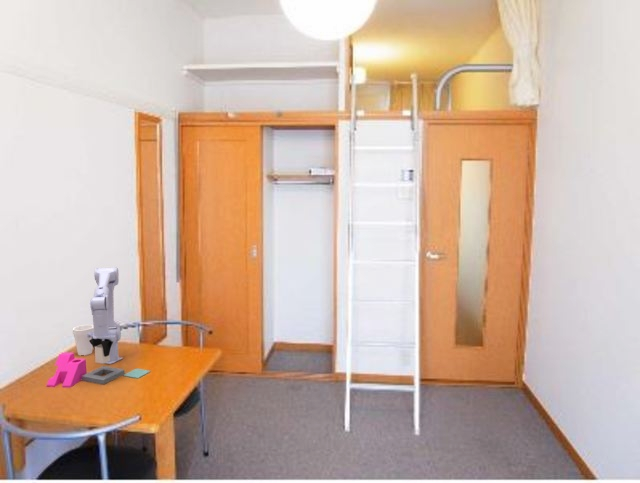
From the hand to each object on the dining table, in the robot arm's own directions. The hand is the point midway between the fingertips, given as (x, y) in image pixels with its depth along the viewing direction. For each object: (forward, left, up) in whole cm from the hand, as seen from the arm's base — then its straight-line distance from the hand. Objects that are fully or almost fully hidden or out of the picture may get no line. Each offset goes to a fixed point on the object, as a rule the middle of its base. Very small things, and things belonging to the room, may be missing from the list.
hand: (102, 355), depth 206 cm
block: (0, 0, -3) cm, 3 cm away
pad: (+11, +8, -10) cm, 17 cm away
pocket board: (0, 0, -10) cm, 10 cm away
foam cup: (-31, +19, -10) cm, 38 cm away
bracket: (-11, -9, -10) cm, 18 cm away
